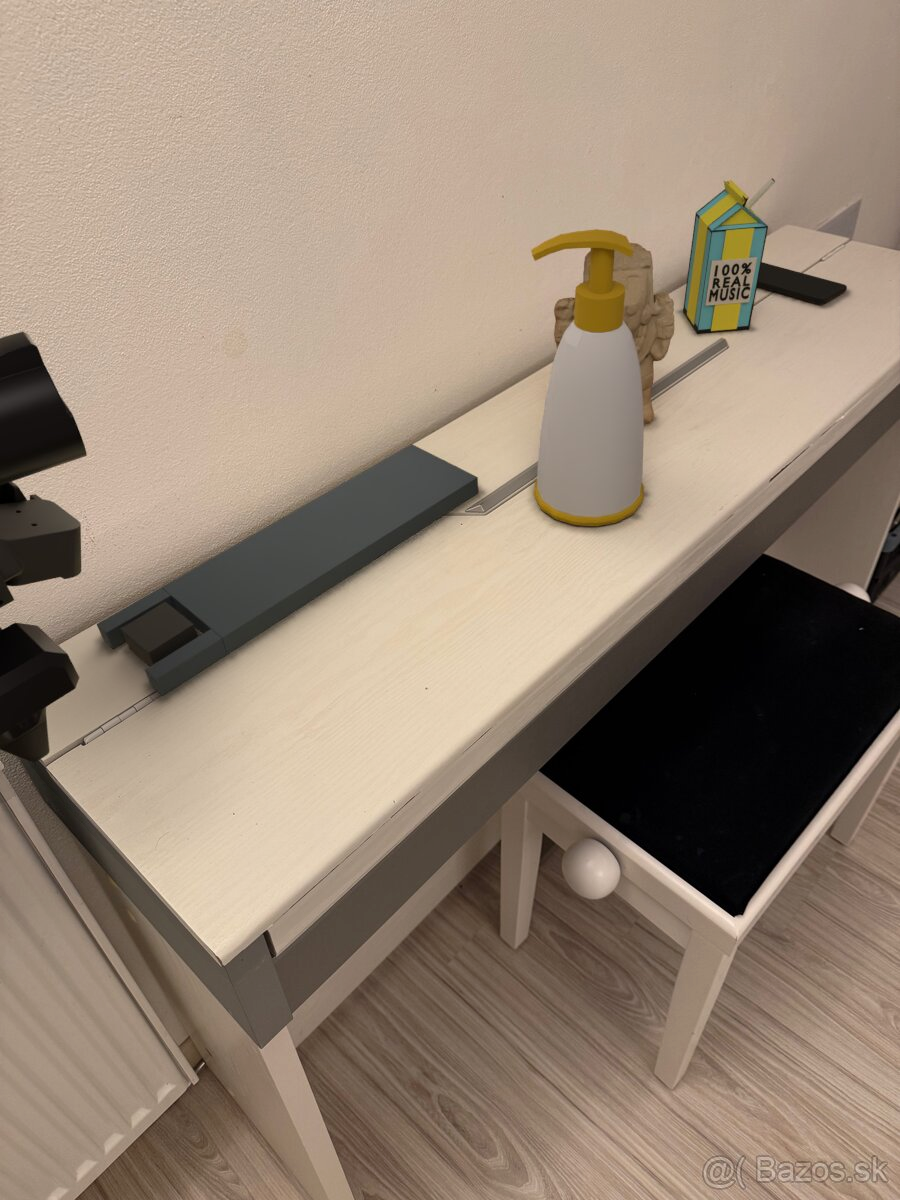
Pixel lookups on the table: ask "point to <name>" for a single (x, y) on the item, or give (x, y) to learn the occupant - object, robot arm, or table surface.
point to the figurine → (633, 314)
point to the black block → (158, 633)
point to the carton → (725, 262)
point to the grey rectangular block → (297, 559)
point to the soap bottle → (592, 398)
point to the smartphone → (798, 284)
